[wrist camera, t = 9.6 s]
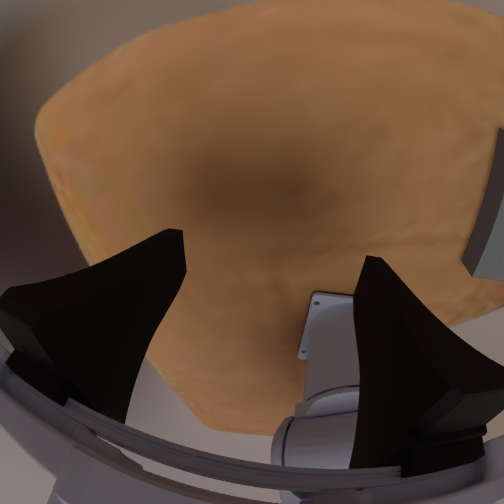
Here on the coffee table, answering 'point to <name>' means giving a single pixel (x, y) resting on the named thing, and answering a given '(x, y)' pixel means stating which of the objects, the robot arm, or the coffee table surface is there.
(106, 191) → the coffee table surface
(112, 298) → the robot arm
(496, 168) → the charcoal flat pad
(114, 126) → the coffee table surface
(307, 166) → the coffee table surface
